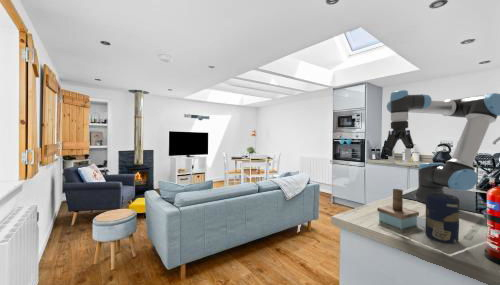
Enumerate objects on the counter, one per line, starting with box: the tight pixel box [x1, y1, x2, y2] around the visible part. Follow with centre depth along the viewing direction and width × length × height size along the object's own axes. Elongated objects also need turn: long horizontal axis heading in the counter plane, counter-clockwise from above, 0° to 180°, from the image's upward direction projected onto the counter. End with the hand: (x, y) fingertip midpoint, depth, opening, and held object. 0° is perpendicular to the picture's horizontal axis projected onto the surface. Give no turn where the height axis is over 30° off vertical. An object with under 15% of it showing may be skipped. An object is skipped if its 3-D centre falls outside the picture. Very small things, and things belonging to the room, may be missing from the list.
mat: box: [417, 216, 426, 229], centre depth 98 cm, size 12×12×1 cm
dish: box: [378, 211, 417, 230], centre depth 97 cm, size 10×10×5 cm
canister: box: [424, 192, 460, 244], centre depth 82 cm, size 10×10×18 cm
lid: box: [376, 188, 420, 219], centre depth 97 cm, size 11×11×10 cm
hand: (399, 161), depth 114 cm, fingers open, 13 cm apart
